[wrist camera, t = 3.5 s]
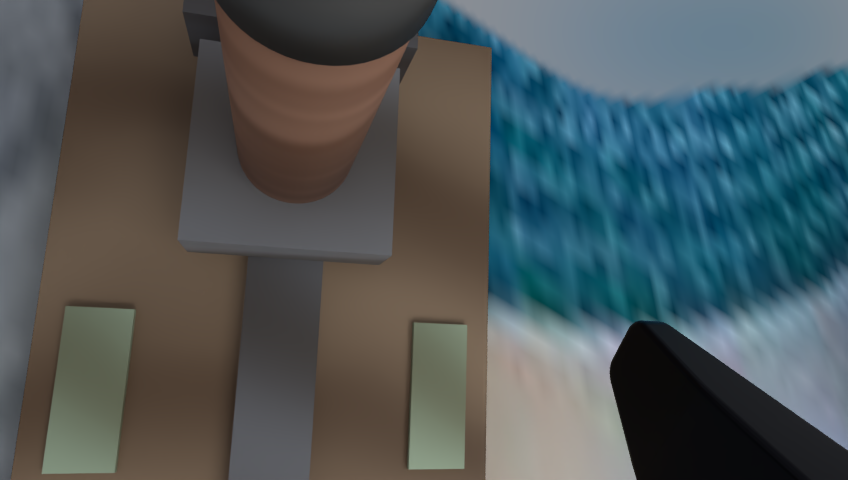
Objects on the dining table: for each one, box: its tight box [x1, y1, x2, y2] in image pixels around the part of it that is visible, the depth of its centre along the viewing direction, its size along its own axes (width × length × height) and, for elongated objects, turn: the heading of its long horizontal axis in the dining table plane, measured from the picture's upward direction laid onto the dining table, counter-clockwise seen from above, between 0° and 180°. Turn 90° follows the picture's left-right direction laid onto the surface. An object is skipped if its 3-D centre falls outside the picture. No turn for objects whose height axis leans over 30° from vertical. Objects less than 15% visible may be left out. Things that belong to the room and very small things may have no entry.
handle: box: [177, 0, 437, 265], centre depth 12 cm, size 5×5×11 cm
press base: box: [11, 0, 491, 480], centre depth 16 cm, size 24×12×4 cm, turn 178°
